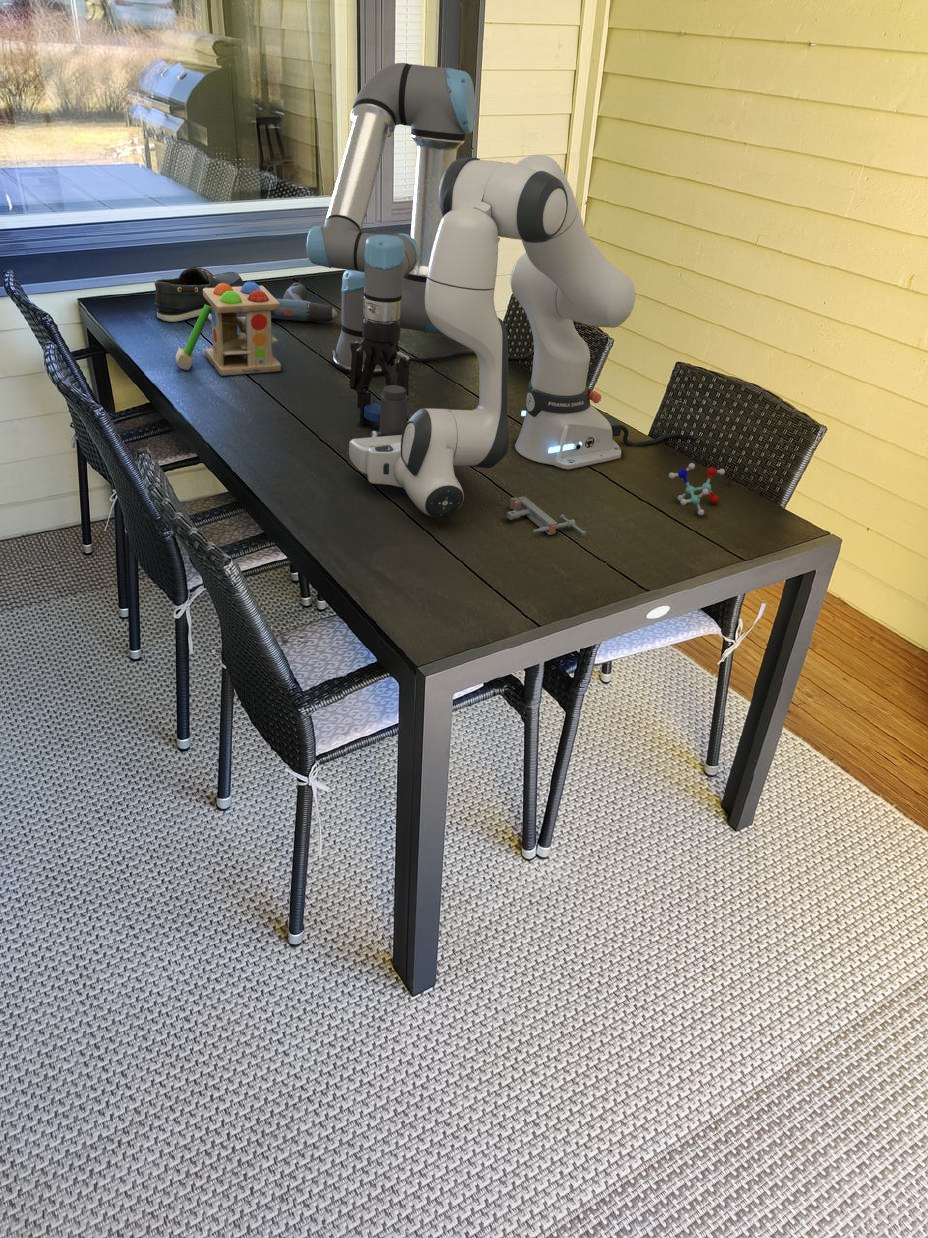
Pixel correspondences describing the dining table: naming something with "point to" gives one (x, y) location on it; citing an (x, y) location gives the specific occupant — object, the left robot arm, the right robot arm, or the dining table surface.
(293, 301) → the power drill
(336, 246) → the left robot arm
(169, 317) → the boat shoe
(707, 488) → the molecular model
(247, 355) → the pounding bench toy
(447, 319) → the right robot arm
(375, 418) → the lid
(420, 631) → the dining table surface
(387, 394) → the jar
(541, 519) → the clamp
